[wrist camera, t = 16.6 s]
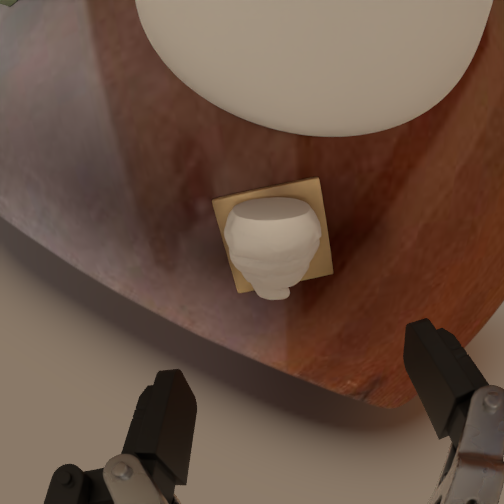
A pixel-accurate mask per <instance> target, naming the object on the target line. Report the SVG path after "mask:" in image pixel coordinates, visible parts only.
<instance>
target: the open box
mask: <svg viewBox="0 0 504 504" xmlns="http://www.w3.org/2000/svg"><path fill="white" fill-rule="evenodd" d="M16 1H18V0H0V4H3V5H6V6H11V5H12V4H14V3H15V2H16Z"/></svg>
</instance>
